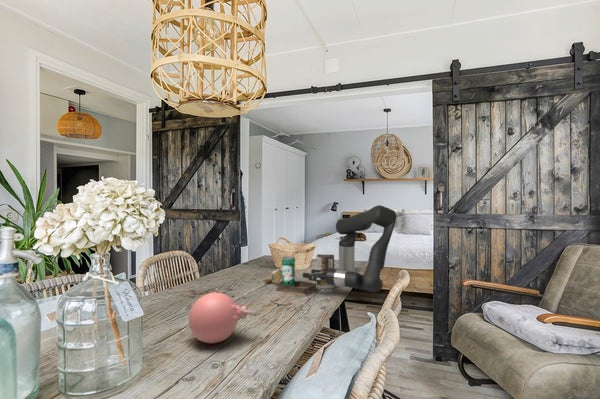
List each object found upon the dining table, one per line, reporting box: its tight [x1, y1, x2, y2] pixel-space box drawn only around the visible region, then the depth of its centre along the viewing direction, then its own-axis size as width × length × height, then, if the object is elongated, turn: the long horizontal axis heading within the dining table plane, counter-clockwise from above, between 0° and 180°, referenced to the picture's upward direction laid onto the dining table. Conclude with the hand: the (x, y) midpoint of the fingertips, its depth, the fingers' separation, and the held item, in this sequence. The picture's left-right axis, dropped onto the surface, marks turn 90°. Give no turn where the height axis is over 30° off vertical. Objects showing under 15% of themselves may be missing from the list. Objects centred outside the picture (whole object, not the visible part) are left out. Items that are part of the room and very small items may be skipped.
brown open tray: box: [275, 280, 317, 297], centre depth 162 cm, size 11×17×3 cm, turn 60°
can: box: [281, 256, 296, 287], centre depth 164 cm, size 6×6×15 cm
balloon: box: [188, 292, 253, 344], centre depth 105 cm, size 15×20×15 cm
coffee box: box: [316, 254, 335, 289], centre depth 169 cm, size 9×6×16 cm
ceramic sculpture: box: [262, 267, 282, 285], centre depth 175 cm, size 11×9×15 cm
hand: (307, 273), depth 159 cm, fingers open, 8 cm apart
